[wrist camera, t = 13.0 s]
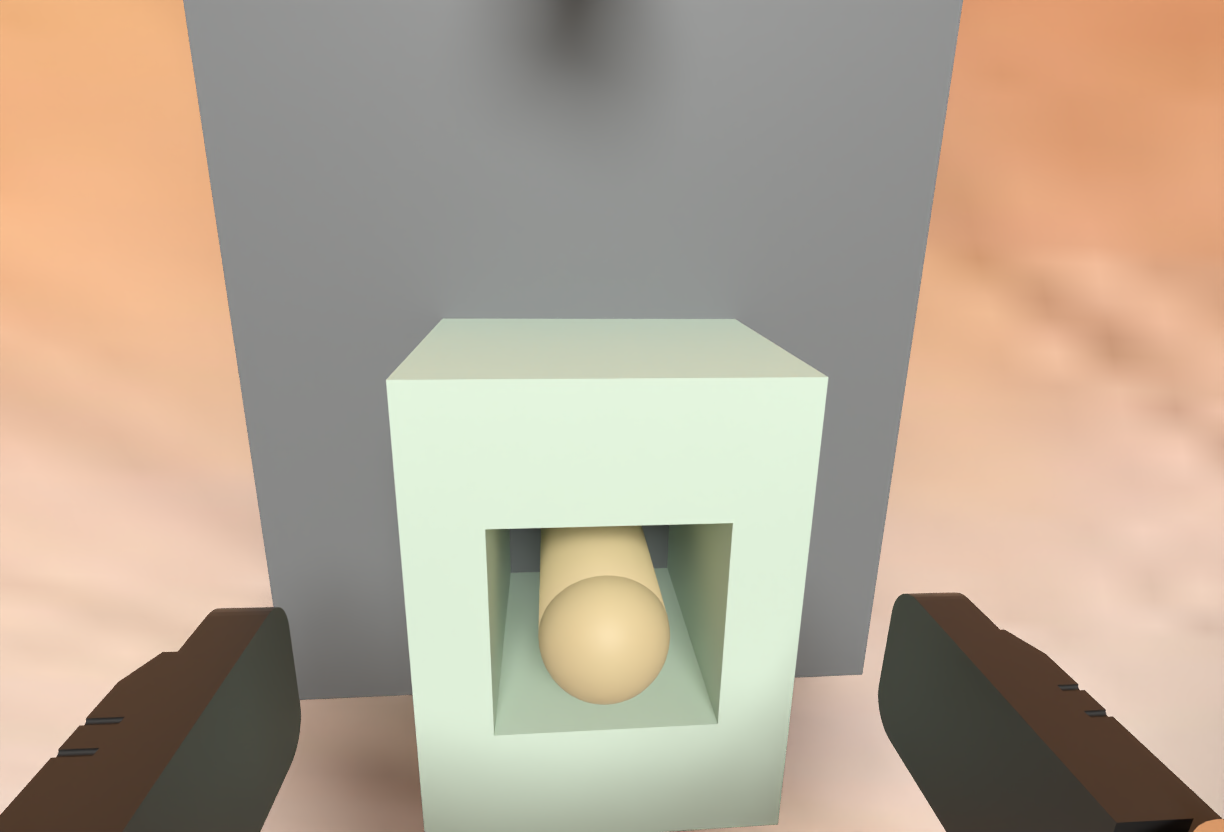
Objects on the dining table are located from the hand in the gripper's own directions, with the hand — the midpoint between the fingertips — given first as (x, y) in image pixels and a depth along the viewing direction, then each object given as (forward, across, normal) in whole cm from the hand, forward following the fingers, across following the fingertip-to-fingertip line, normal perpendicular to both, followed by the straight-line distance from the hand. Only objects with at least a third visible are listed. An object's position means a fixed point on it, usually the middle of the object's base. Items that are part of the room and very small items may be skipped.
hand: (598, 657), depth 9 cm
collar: (+6, 0, +1) cm, 6 cm away
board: (+8, 0, -5) cm, 9 cm away
